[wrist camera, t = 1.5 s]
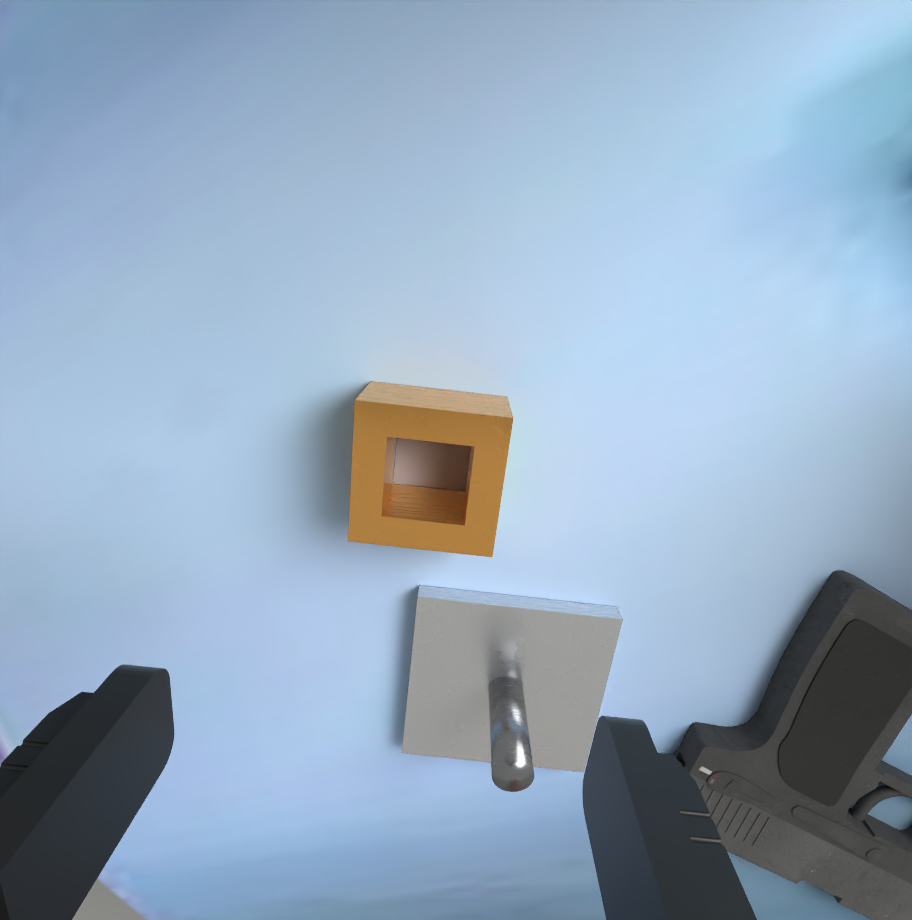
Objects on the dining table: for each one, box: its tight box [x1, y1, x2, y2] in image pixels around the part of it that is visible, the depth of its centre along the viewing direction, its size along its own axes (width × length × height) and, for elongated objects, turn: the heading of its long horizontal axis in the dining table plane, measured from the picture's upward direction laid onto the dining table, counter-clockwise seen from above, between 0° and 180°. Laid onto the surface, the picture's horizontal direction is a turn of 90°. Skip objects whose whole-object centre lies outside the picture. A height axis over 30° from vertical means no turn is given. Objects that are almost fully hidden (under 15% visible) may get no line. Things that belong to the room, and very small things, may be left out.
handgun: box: [674, 570, 912, 920], centre depth 30 cm, size 25×2×17 cm
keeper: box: [402, 585, 623, 792], centre depth 26 cm, size 10×10×6 cm
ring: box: [348, 381, 513, 557], centre depth 23 cm, size 6×6×4 cm
